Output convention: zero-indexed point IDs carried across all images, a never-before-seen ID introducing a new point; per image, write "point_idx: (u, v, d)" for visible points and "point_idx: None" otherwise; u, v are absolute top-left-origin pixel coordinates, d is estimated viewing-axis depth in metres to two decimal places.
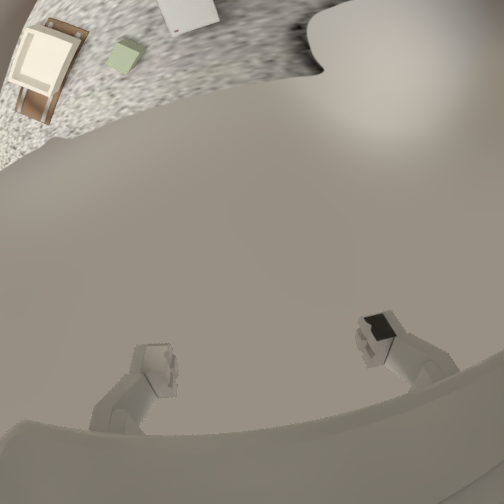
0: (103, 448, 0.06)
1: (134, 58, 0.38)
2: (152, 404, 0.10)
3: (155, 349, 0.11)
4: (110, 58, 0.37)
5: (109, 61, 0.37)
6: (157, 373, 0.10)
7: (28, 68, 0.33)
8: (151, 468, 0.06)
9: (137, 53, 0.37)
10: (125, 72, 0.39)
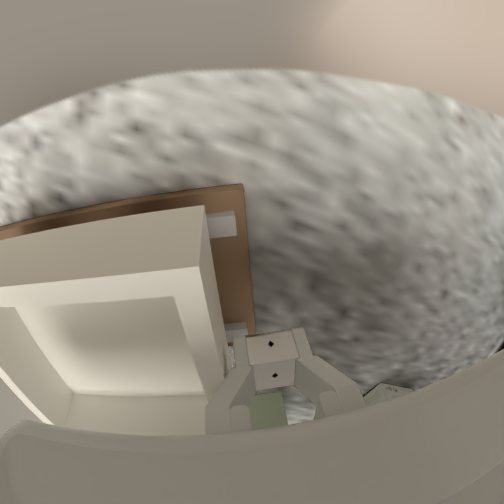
0: (103, 448, 0.06)
1: None
2: (252, 397, 0.10)
3: (257, 339, 0.11)
4: None
5: None
6: (266, 363, 0.10)
7: None
8: (151, 468, 0.06)
9: None
10: None
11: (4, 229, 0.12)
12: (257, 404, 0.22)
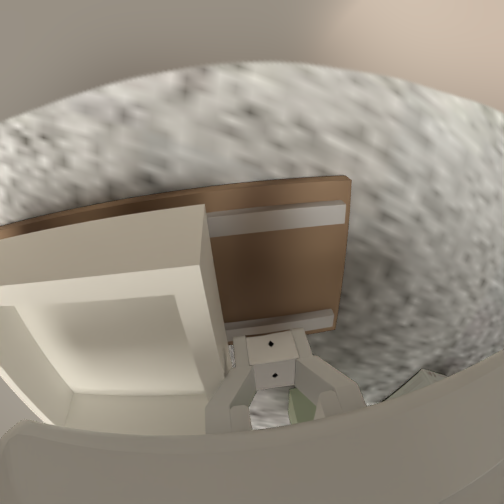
0: (103, 448, 0.06)
1: None
2: (252, 397, 0.10)
3: (257, 339, 0.11)
4: None
5: None
6: (266, 363, 0.10)
7: None
8: (151, 468, 0.06)
9: None
10: None
11: (70, 213, 0.13)
12: None
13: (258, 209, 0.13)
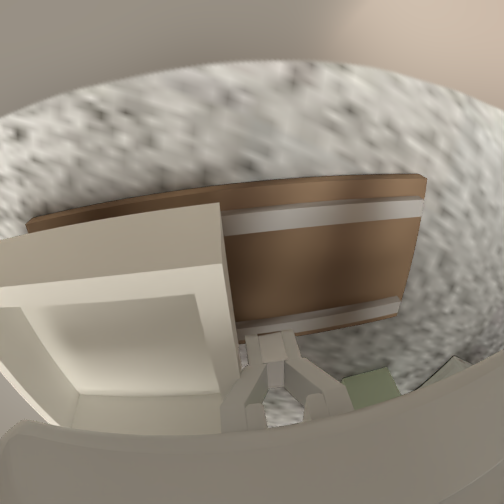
0: (103, 448, 0.06)
1: None
2: (264, 396, 0.11)
3: (269, 338, 0.11)
4: None
5: None
6: (279, 361, 0.10)
7: None
8: (151, 468, 0.06)
9: None
10: None
11: (156, 198, 0.13)
12: (370, 381, 0.23)
13: (355, 201, 0.14)
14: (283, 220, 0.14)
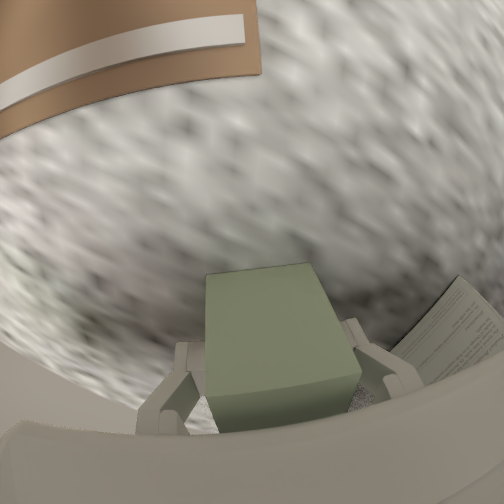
0: (103, 448, 0.06)
1: None
2: (194, 403, 0.10)
3: (198, 346, 0.11)
4: (257, 397, 0.08)
5: (237, 401, 0.08)
6: (203, 370, 0.10)
7: None
8: (151, 468, 0.06)
9: None
10: None
11: None
12: (264, 282, 0.12)
13: None
14: None
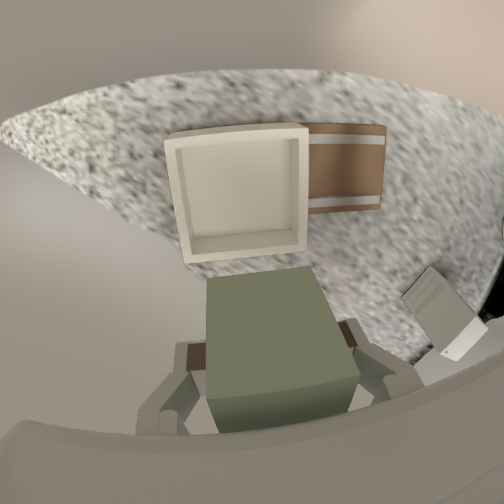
0: (103, 448, 0.06)
1: None
2: (194, 403, 0.10)
3: (198, 346, 0.11)
4: (257, 399, 0.08)
5: (237, 403, 0.08)
6: (203, 370, 0.10)
7: (200, 159, 0.24)
8: (151, 468, 0.06)
9: None
10: None
11: None
12: (265, 286, 0.12)
13: (349, 134, 0.28)
14: (316, 139, 0.27)
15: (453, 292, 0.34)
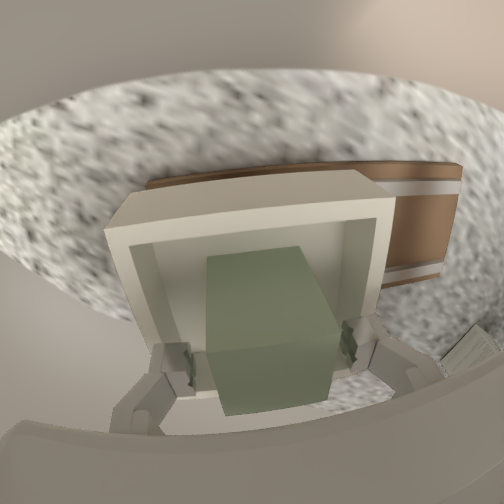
0: (103, 448, 0.06)
1: (299, 403, 0.11)
2: (171, 404, 0.10)
3: (174, 348, 0.11)
4: (250, 354, 0.09)
5: (233, 357, 0.09)
6: (178, 372, 0.10)
7: (185, 244, 0.14)
8: (151, 468, 0.06)
9: (322, 398, 0.11)
10: (229, 411, 0.11)
11: (283, 167, 0.16)
12: (258, 262, 0.13)
13: (419, 179, 0.17)
14: None
15: None
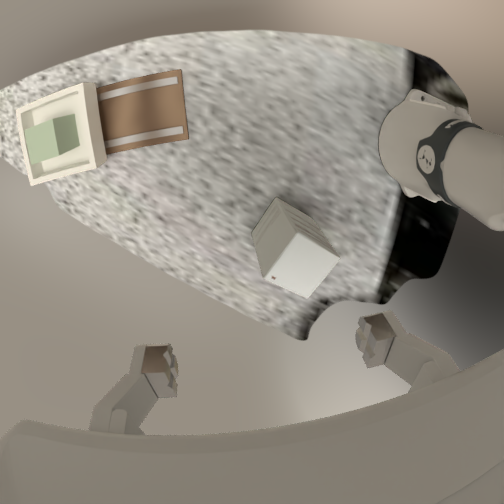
0: (103, 448, 0.06)
1: (50, 156, 0.27)
2: (152, 404, 0.10)
3: (155, 349, 0.11)
4: (33, 129, 0.24)
5: (29, 131, 0.25)
6: (157, 373, 0.10)
7: (42, 119, 0.29)
8: (151, 468, 0.06)
9: (57, 153, 0.27)
10: (32, 161, 0.26)
11: None
12: None
13: (146, 82, 0.32)
14: (120, 92, 0.32)
15: (285, 215, 0.38)
